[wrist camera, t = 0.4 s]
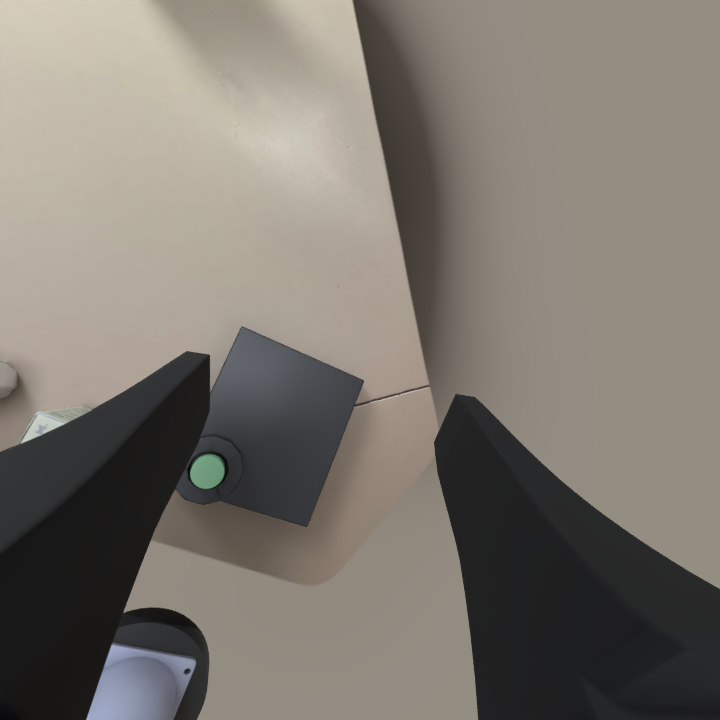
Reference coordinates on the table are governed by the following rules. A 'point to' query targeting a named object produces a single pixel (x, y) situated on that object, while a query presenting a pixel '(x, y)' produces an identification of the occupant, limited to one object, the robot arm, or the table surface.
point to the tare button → (207, 471)
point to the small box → (51, 421)
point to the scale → (273, 428)
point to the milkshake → (7, 379)
